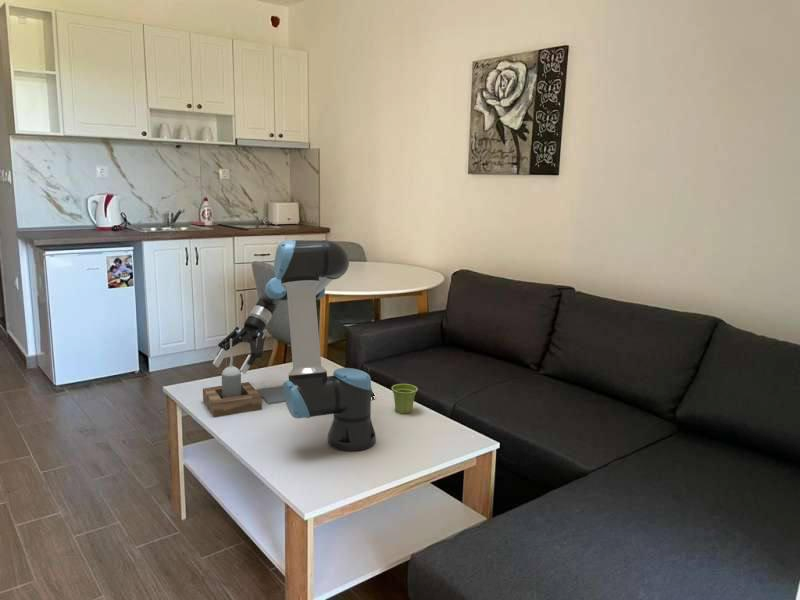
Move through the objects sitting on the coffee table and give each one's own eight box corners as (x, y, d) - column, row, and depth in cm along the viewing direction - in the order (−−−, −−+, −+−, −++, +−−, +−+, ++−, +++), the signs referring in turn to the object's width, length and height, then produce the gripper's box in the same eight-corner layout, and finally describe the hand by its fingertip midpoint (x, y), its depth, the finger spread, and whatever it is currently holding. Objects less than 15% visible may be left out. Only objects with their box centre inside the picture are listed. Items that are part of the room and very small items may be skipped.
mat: (309, 397, 223) (309, 396, 223) (268, 404, 215) (268, 402, 215) (295, 385, 236) (295, 383, 236) (255, 390, 228) (255, 389, 228)
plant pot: (417, 406, 217) (418, 384, 215) (415, 416, 208) (416, 393, 206) (392, 405, 218) (393, 383, 216) (389, 414, 208) (390, 391, 207)
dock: (261, 409, 210) (261, 396, 209) (213, 417, 202) (213, 403, 201) (248, 394, 225) (248, 381, 224) (203, 401, 216) (202, 388, 215)
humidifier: (246, 407, 211) (244, 340, 207) (222, 410, 208) (220, 342, 203) (241, 399, 219) (239, 335, 214) (218, 403, 215) (216, 337, 210)
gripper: (287, 330, 216) (259, 380, 207) (239, 321, 229) (210, 367, 219) (277, 319, 211) (248, 369, 201) (228, 310, 223) (198, 357, 213)
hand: (228, 368), depth 210 cm, fingers open, 13 cm apart
